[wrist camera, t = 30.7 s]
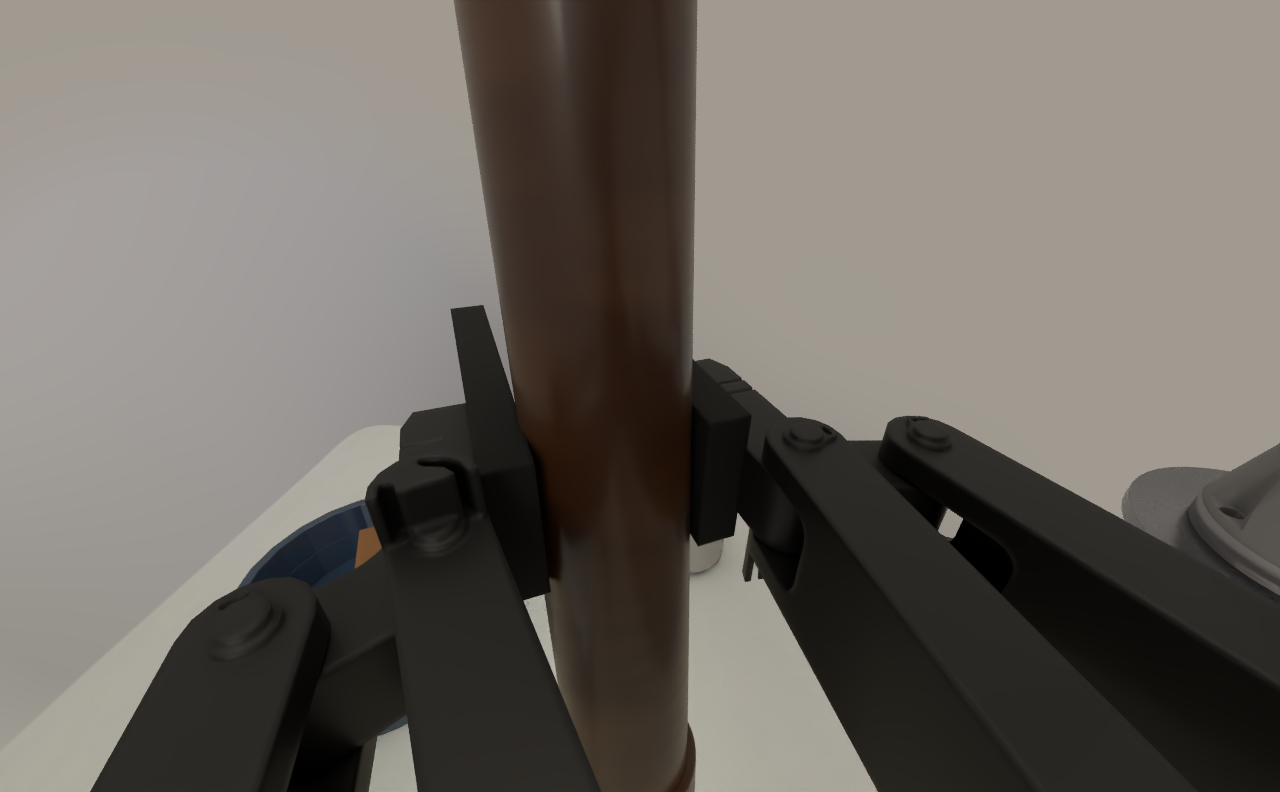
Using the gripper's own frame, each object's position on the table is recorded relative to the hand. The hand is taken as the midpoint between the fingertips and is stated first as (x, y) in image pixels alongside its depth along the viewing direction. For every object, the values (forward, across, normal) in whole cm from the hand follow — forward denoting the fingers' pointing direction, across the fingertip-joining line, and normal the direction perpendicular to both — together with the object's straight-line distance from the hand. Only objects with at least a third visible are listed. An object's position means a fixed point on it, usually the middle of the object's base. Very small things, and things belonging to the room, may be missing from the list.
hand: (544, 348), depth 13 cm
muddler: (-7, 0, -9) cm, 11 cm away
